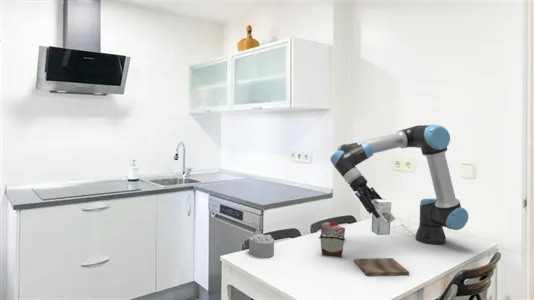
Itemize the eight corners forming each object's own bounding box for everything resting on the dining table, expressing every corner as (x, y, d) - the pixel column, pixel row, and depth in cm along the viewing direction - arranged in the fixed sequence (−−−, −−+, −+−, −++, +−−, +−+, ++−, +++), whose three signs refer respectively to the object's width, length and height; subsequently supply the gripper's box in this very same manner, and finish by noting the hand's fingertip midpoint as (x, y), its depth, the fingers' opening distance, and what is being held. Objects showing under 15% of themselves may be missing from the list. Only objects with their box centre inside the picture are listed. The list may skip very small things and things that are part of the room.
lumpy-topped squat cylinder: (264, 248, 181) (264, 231, 181) (279, 255, 170) (279, 237, 170) (246, 251, 175) (246, 234, 175) (260, 260, 164) (260, 241, 164)
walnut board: (392, 261, 165) (392, 258, 165) (408, 275, 149) (409, 271, 149) (353, 262, 163) (353, 258, 163) (366, 276, 147) (366, 272, 147)
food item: (347, 242, 193) (347, 224, 193) (336, 244, 189) (336, 226, 188) (329, 235, 204) (329, 218, 204) (318, 238, 200) (318, 220, 199)
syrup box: (383, 231, 159) (384, 198, 158) (390, 235, 153) (391, 201, 152) (371, 231, 158) (372, 198, 157) (377, 235, 152) (378, 201, 151)
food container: (346, 254, 173) (347, 233, 173) (345, 258, 168) (345, 237, 167) (321, 251, 177) (321, 231, 177) (318, 255, 172) (319, 234, 171)
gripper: (361, 183, 172) (392, 222, 162) (338, 187, 157) (371, 231, 147) (371, 173, 169) (404, 213, 159) (349, 176, 153) (384, 221, 143)
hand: (388, 221), depth 153 cm, fingers closed on syrup box, 8 cm apart
